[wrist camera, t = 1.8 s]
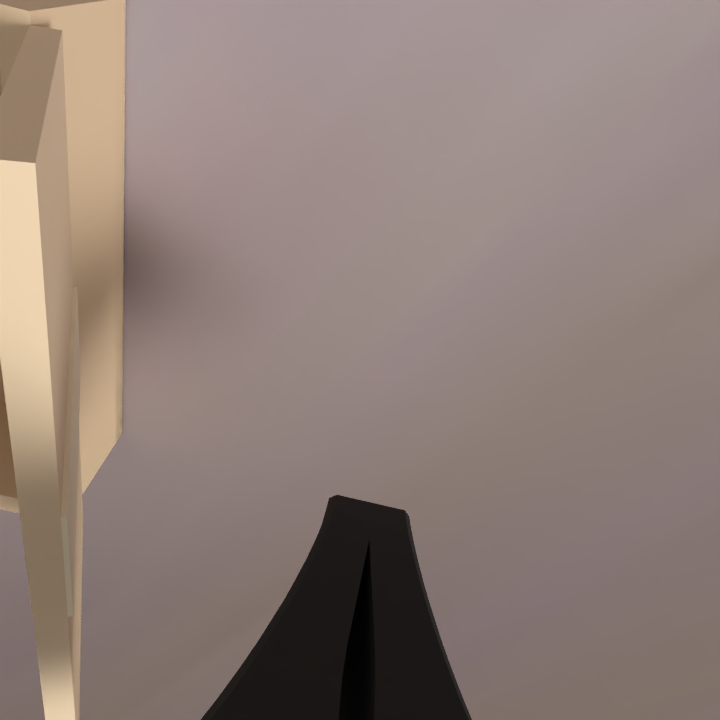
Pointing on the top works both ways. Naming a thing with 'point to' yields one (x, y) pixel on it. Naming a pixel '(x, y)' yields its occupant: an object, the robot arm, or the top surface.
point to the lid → (43, 356)
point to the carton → (85, 208)
